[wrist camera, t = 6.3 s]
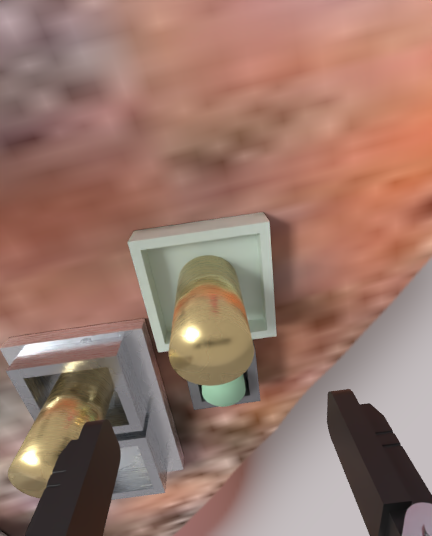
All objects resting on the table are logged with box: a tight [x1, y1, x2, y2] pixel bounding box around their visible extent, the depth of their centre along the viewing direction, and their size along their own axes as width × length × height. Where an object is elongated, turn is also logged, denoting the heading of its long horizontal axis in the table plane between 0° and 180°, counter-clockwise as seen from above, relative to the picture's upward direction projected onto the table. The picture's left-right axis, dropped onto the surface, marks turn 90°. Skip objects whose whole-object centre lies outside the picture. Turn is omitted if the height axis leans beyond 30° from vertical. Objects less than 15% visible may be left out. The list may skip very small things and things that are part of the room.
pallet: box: [0, 319, 184, 500], centre depth 25 cm, size 16×10×3 cm, turn 8°
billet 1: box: [8, 367, 115, 498], centre depth 20 cm, size 4×4×7 cm
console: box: [187, 340, 260, 410], centre depth 23 cm, size 5×5×2 cm
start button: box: [202, 374, 246, 407], centre depth 22 cm, size 3×3×2 cm
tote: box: [128, 212, 277, 352], centre depth 21 cm, size 8×8×2 cm
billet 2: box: [169, 255, 254, 386], centre depth 18 cm, size 4×4×7 cm
